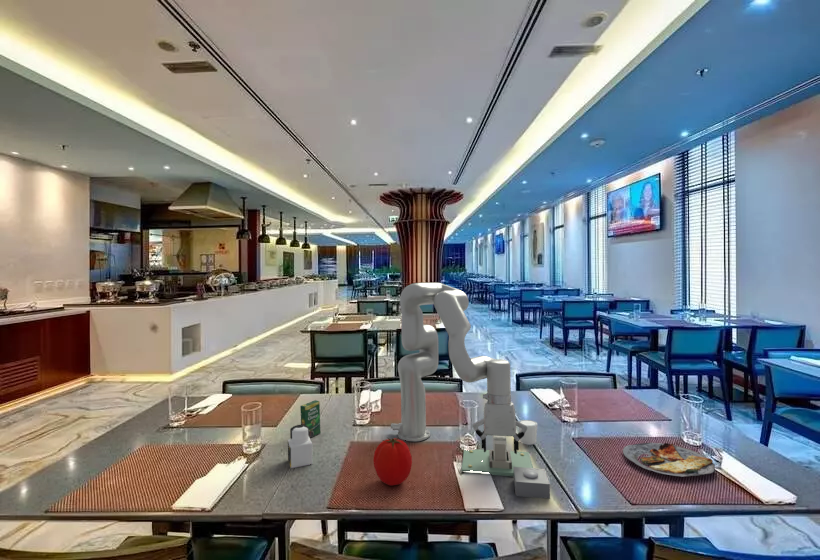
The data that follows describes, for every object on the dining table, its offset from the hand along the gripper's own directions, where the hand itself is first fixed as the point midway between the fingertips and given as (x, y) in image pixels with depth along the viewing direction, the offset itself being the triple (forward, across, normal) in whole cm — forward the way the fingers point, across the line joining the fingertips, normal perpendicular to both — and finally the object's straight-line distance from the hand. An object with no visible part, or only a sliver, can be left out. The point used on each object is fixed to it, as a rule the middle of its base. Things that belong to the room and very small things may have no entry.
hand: (500, 451), depth 130 cm
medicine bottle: (+5, -66, -7) cm, 67 cm away
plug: (+4, 0, 0) cm, 4 cm away
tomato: (+5, -32, -16) cm, 36 cm away
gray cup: (+5, +11, +21) cm, 24 cm away
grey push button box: (+4, +8, -14) cm, 17 cm away
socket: (+4, 0, 0) cm, 4 cm away
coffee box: (+5, -72, +15) cm, 74 cm away
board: (+4, -1, +1) cm, 5 cm away
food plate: (+5, +53, +9) cm, 54 cm away
